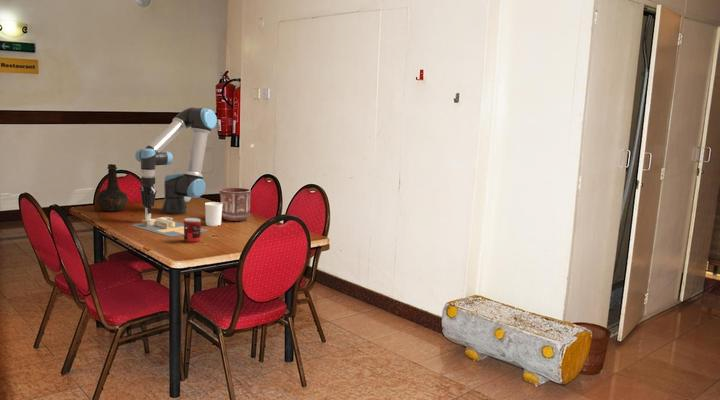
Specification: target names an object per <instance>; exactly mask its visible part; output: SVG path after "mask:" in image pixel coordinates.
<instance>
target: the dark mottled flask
mask: <svg viewBox="0 0 720 400" xmlns="http://www.w3.org/2000/svg"><path fill="white" fill-rule="evenodd" d="M106 169H108V170H107V171H108V172H107V183H106V188H105V189H103V190H101V191H99V192H98V194H97V196H96V205H97V206H98V207H99V208H100V210H102V211H104V212H108V213H109V212H111V213H112V212H119V211H122V210H124V209H125V208H126V206H127V205H128V202H129V197H128V194H126V193H125V192H124V191H122V190H121V189H120V188H119V183H118V176H117V169H118V167H117V165H116V164H114V163H113V164H112V163H110V164H108V165H107V168H106Z"/></svg>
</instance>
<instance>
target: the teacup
mask: <svg viewBox="0 0 720 400" xmlns="http://www.w3.org/2000/svg"><path fill="white" fill-rule="evenodd" d="M184 199H185V203H186V204H187V203H189V202H190V201H191V200H192V198H190V197H186V196H184Z"/></svg>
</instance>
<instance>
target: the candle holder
mask: <svg viewBox="0 0 720 400" xmlns="http://www.w3.org/2000/svg"><path fill="white" fill-rule="evenodd" d="M222 205H223V204H222V203H221V202H218V201H217V202H216V201H212V202H211V201H209V202H205V203H204V210H205V211H204V215H205V216H204V217H205V225H206V226H208V227H217V226H218V225H219V226H221V225H222V219H223V217H222Z"/></svg>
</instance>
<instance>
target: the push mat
mask: <svg viewBox="0 0 720 400" xmlns="http://www.w3.org/2000/svg"><path fill="white" fill-rule="evenodd" d="M173 222H175V228H168V229H166V228H163V227H159V226H150V227H146V226H142V223H137V224H131V225H130V226H131V227H134V226H135V227H134V228H138V229H140V230H141V229H142V230H145V231H147V232H148V231H149V232H151V233H155V234H158V235H161V236H166V237H168V238H174V237H181V236H184V222H183V223H182V222H178V221H175V220H173ZM204 232H205V233H206V232H210V230H208V229H205V228H201V233H204Z"/></svg>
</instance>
